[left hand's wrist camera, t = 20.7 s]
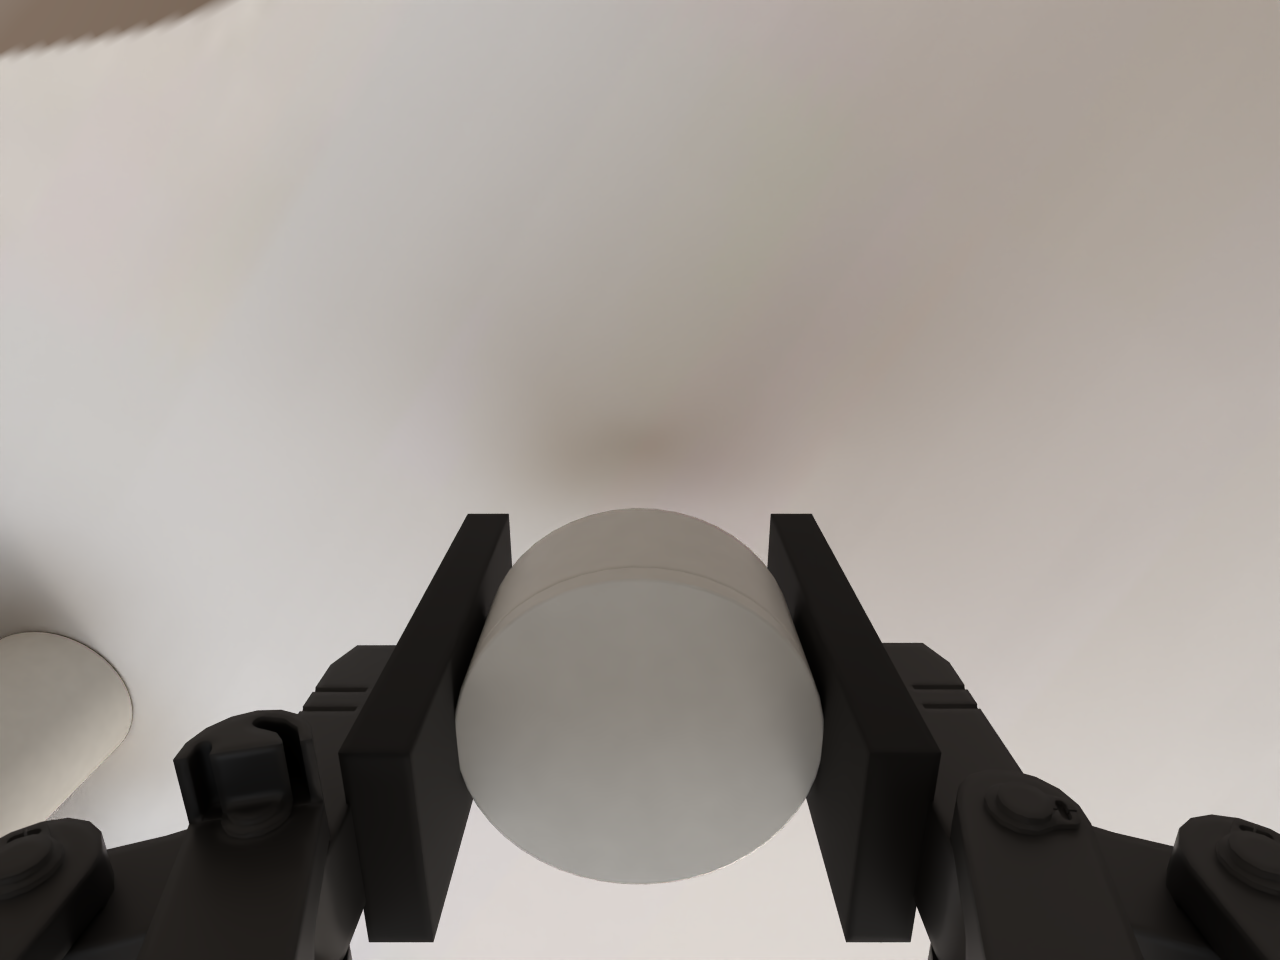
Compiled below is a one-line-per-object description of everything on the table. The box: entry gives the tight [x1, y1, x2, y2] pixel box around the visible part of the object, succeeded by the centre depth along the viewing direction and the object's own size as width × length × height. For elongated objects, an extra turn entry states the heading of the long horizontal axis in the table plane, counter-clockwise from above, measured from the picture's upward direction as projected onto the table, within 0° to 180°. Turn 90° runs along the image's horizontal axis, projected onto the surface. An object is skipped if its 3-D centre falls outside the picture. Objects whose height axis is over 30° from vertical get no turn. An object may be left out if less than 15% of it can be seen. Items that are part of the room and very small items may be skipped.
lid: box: [455, 508, 824, 884], centre depth 11 cm, size 5×5×2 cm
